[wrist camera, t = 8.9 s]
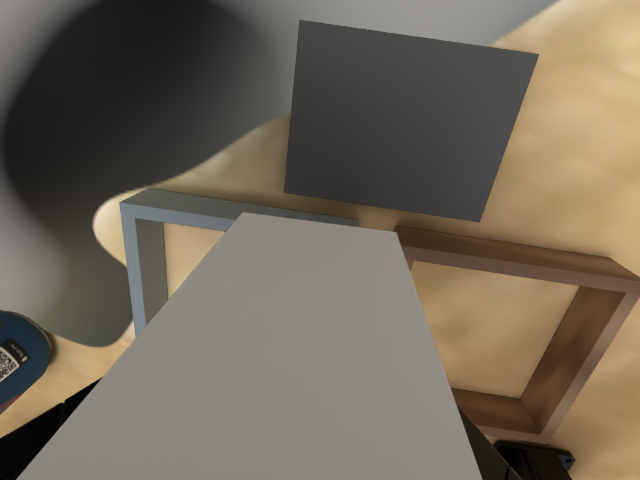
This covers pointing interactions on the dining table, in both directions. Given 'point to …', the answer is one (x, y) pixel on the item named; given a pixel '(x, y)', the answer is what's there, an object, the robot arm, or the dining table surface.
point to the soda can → (20, 356)
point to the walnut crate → (569, 340)
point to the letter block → (275, 372)
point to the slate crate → (184, 209)
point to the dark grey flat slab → (401, 119)
